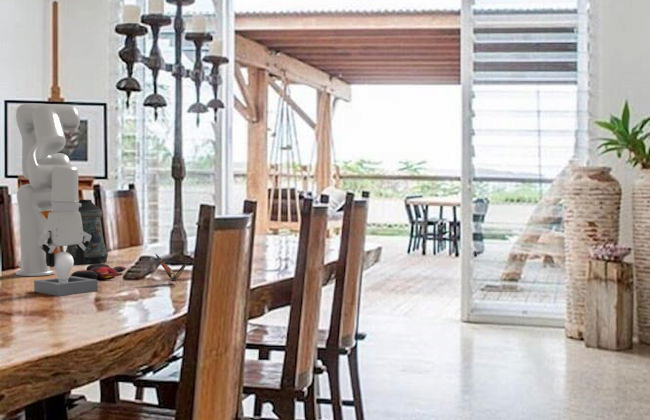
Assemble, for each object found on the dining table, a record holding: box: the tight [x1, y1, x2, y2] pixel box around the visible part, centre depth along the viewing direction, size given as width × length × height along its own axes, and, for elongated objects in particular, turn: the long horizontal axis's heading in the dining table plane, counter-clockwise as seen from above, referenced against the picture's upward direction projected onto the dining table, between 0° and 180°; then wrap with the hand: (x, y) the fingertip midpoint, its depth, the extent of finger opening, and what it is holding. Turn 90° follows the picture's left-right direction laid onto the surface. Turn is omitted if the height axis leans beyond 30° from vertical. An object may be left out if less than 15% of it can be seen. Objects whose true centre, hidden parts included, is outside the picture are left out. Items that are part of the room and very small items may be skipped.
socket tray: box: [33, 275, 99, 297], centre depth 226 cm, size 13×13×3 cm
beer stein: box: [65, 199, 109, 265], centre depth 303 cm, size 16×19×25 cm
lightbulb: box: [53, 251, 75, 283], centre depth 225 cm, size 6×6×11 cm
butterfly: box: [155, 253, 193, 286], centre depth 241 cm, size 12×10×10 cm
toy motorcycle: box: [70, 263, 127, 280], centre depth 259 cm, size 25×5×16 cm
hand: (65, 264), depth 226 cm, fingers open, 9 cm apart
